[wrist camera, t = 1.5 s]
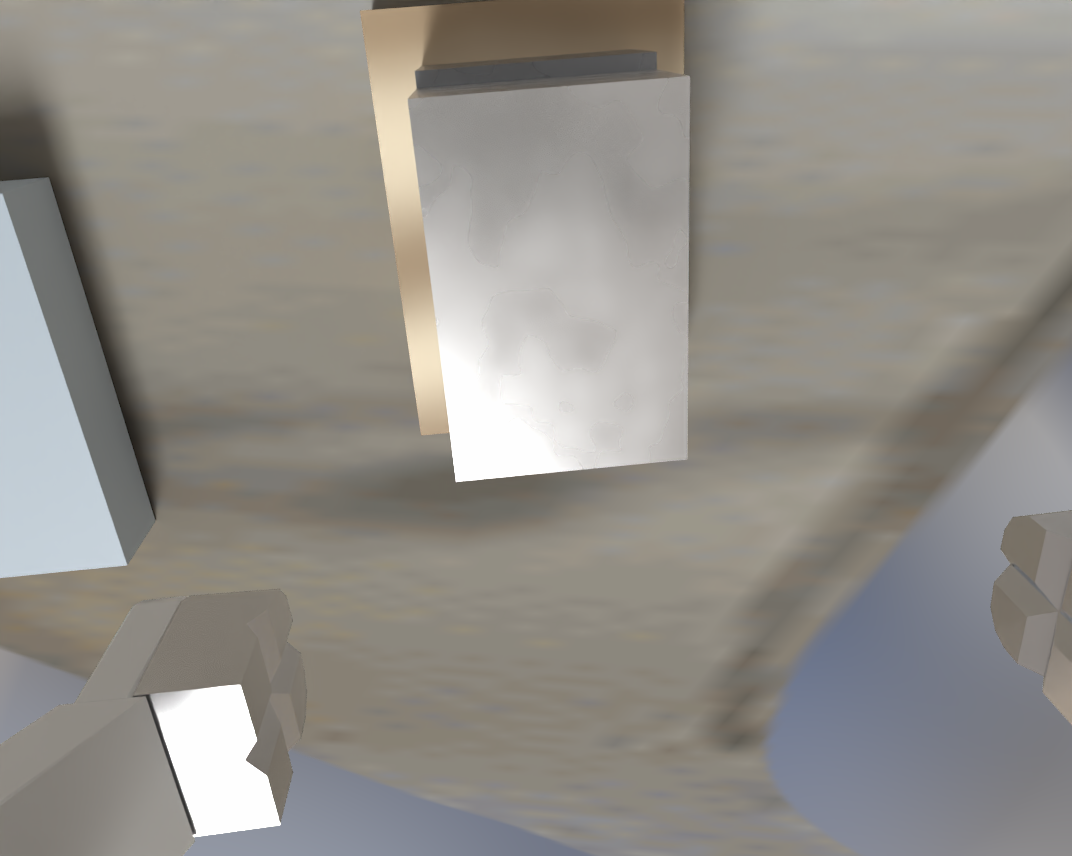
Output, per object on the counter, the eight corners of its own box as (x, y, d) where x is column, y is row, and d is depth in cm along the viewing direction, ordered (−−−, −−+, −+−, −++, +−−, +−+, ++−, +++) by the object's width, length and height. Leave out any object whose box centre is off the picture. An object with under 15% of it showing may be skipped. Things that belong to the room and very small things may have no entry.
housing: (421, 65, 24) (405, 78, 18) (632, 48, 24) (690, 55, 18) (460, 390, 28) (457, 495, 22) (638, 374, 28) (687, 472, 22)
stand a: (371, 13, 26) (359, 10, 23) (662, -10, 26) (684, -15, 23) (425, 400, 31) (421, 435, 29) (664, 378, 32) (682, 410, 29)
